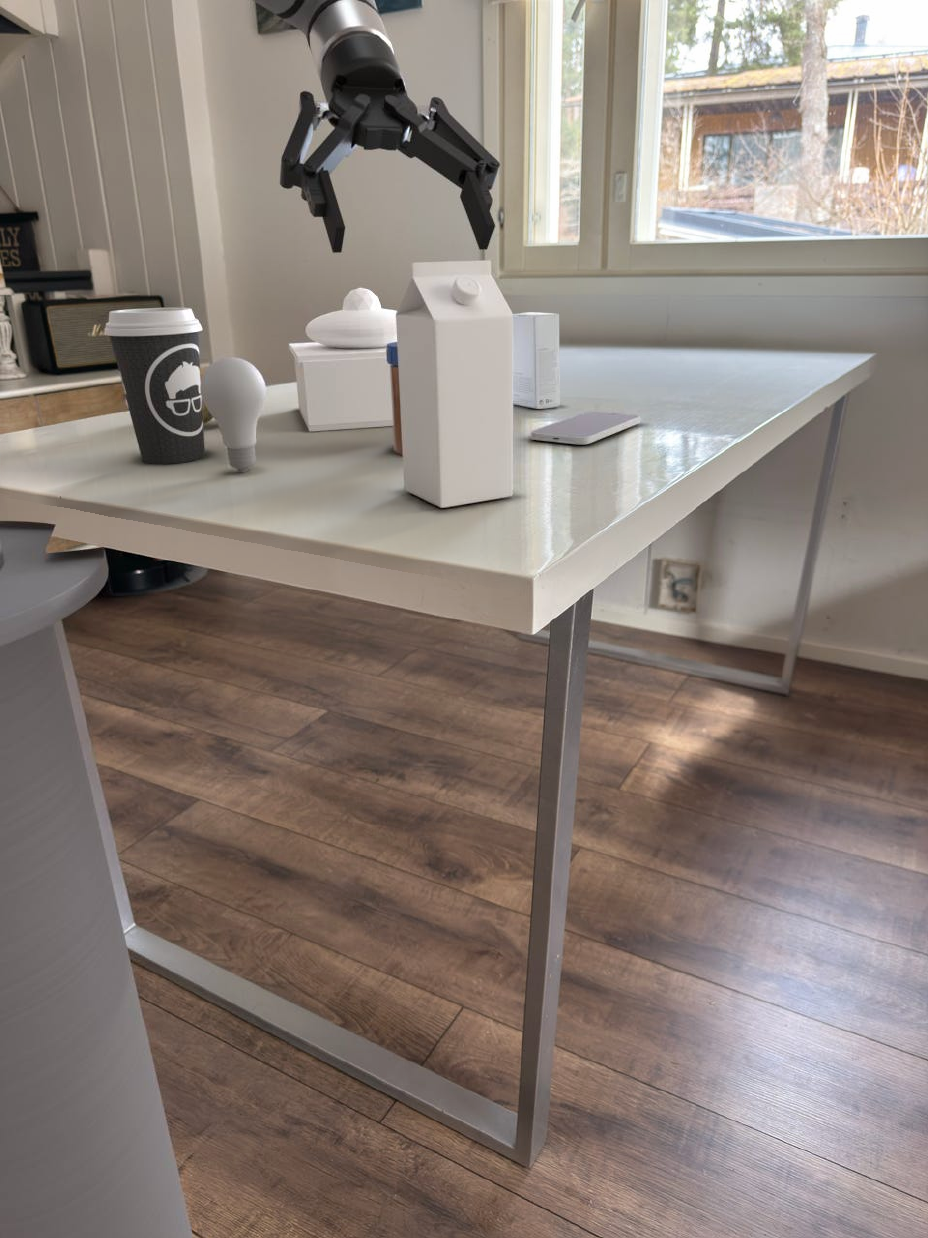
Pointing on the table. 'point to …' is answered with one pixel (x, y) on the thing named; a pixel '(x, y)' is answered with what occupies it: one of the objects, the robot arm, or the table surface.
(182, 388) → the coffee cup
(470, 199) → the robot arm
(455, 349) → the milk carton
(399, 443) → the jar
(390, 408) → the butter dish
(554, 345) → the cosmetic box
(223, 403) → the lightbulb
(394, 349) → the jar lid
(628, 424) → the smartphone
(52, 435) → the table surface
